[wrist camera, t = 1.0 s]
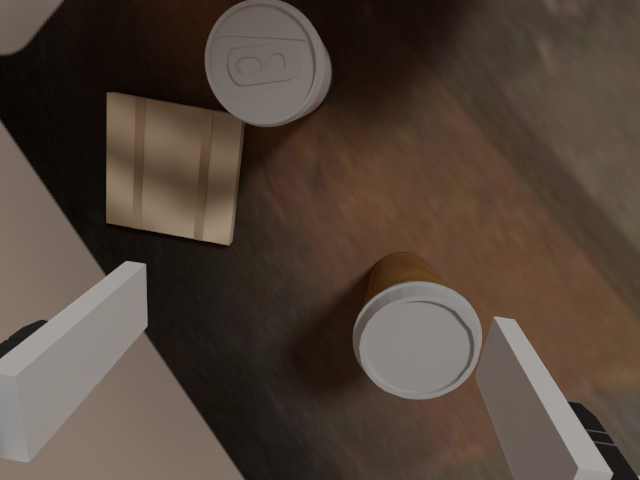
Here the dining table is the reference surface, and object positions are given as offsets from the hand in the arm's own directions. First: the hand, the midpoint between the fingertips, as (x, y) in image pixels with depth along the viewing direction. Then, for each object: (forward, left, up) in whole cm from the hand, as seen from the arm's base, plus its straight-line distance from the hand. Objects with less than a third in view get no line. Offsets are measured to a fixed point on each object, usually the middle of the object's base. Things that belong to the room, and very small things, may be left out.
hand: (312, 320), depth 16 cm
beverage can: (-9, -5, -25) cm, 27 cm away
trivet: (+1, -15, -25) cm, 29 cm away
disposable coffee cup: (+8, +8, -25) cm, 28 cm away
